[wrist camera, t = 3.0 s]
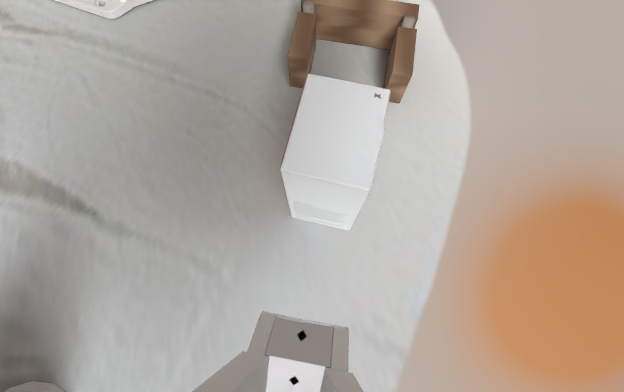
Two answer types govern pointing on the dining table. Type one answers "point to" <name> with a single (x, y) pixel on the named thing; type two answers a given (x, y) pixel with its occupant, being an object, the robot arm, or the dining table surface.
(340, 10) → the brown u-shaped piece
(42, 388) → the french press
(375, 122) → the small box
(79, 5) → the robot arm
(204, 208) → the dining table surface
